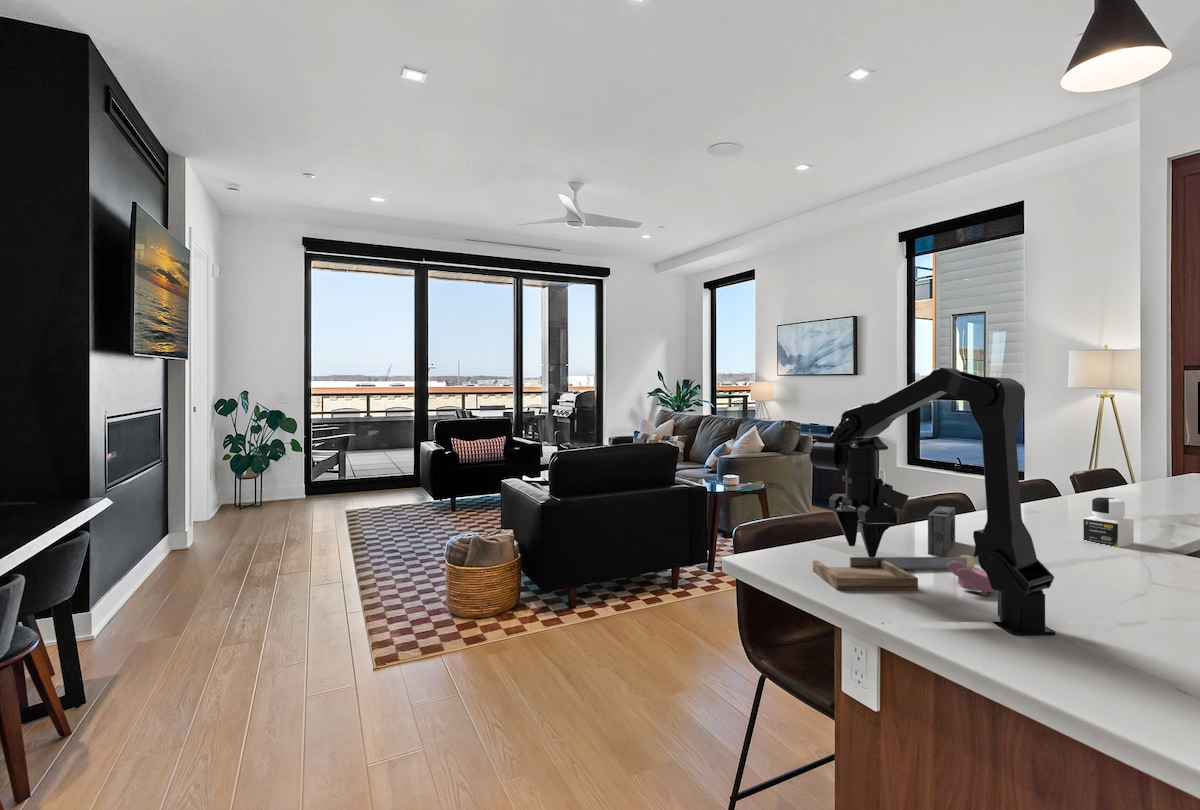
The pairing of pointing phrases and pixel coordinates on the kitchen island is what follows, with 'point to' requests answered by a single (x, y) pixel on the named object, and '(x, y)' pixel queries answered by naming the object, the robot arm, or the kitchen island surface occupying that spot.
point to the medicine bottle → (1109, 523)
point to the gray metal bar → (912, 562)
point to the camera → (941, 530)
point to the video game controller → (970, 577)
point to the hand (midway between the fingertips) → (861, 551)
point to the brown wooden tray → (867, 577)
